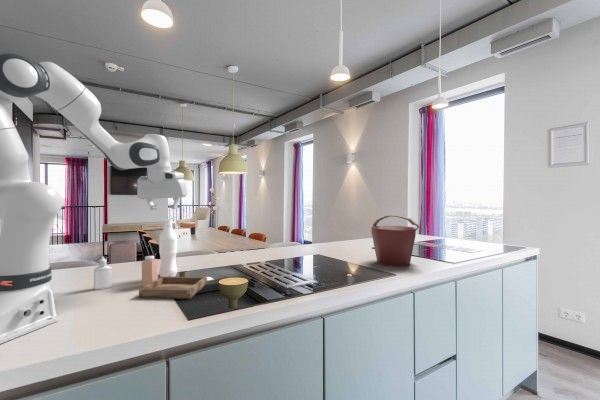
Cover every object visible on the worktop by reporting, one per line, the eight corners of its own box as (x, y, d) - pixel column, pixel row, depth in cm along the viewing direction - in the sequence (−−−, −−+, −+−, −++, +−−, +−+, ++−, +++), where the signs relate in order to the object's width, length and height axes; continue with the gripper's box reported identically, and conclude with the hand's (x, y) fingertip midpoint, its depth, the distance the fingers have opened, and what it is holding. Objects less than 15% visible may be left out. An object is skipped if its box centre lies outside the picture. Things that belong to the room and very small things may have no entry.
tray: (190, 298, 102) (190, 290, 102) (138, 297, 103) (138, 289, 103) (206, 284, 118) (206, 277, 118) (162, 284, 119) (162, 276, 119)
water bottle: (180, 275, 131) (180, 218, 131) (171, 280, 124) (171, 220, 124) (165, 275, 132) (164, 218, 131) (155, 279, 125) (155, 220, 124)
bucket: (427, 265, 151) (428, 216, 151) (397, 270, 140) (397, 217, 140) (390, 256, 172) (390, 213, 172) (361, 260, 161) (361, 214, 161)
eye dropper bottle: (108, 289, 112) (108, 257, 112) (91, 290, 111) (91, 258, 111) (113, 286, 116) (113, 255, 116) (97, 286, 115) (97, 255, 115)
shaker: (152, 287, 115) (151, 257, 115) (141, 287, 115) (141, 257, 115) (157, 284, 119) (157, 255, 119) (147, 283, 119) (147, 255, 119)
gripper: (131, 176, 119) (135, 211, 120) (178, 174, 115) (182, 209, 117) (142, 176, 125) (146, 208, 126) (187, 173, 121) (190, 207, 123)
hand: (163, 209), depth 121 cm, fingers open, 8 cm apart
